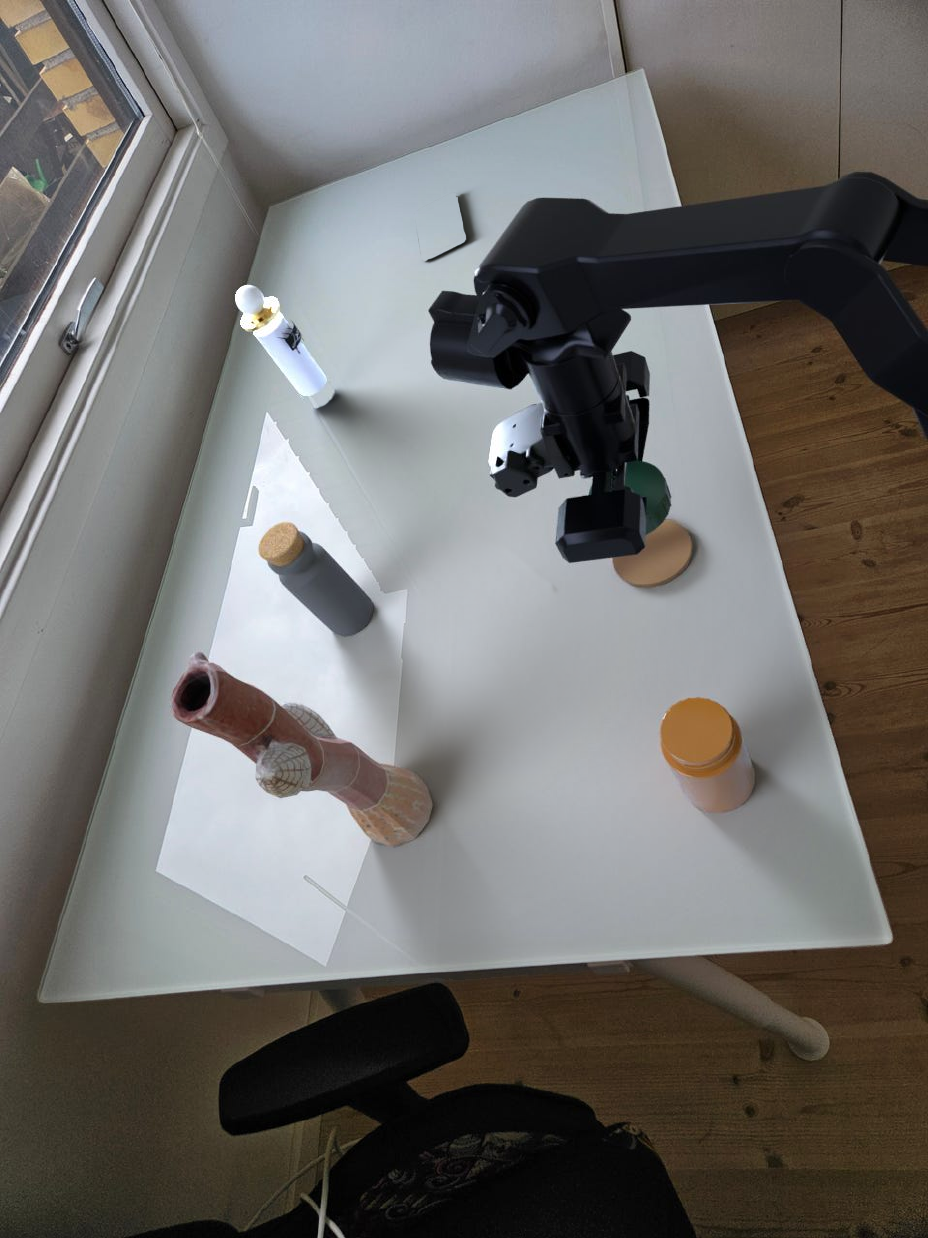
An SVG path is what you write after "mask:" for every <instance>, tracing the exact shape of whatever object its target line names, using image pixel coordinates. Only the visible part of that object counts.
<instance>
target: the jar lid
mask: <svg viewBox="0 0 928 1238" xmlns="http://www.w3.org/2000/svg"><path fill="white" fill-rule="evenodd" d="M612 472H613V471H612ZM611 480H612V477H611ZM611 484H612V481H611ZM625 486H628V487H630V488H632V490H633V492H634V493H636V494H639V495H641V497H647V520H646V535H647V534H649V533H651V532H653V531H654V530H656V528H658V527H659V526H660V525H661V524H662V523H663V522H664V520H665V519H667V517H668V516H669V513H670V510H671V507H672V497H673V496H672V494H671V492H670V489H669V485H668V482H667V479H666V477H665V475H664V474H663V472H662V471H661V470H660V469H659V467H657V466H656V465H654V464H653V463H650V462H648V461H643V460H642V461H631V462H626V483H625ZM611 488H612V486H611ZM591 493H592V484H591V485H590V488H589V490H588V494H587V495H591Z"/></svg>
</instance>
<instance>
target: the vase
mask: <svg viewBox="0 0 928 1238" xmlns="http://www.w3.org/2000/svg"><path fill="white" fill-rule="evenodd" d="M169 707H170V710H171V713H172V716H173V717H174V718H175V719H176V720H177V721H178V722H180V723H182V724H184V725H186V726H187V727H190V728H192V729H195V730H198V731H200V732H203V733H206V734H209V735H211V736H213V737H216V738H219V739H221V740H224V741H226V742H228V743H229V744H231V745H232V746H233V747H235V748H236V749H237V750H239V751H240V752H241V753H242V754H243V755H244V756H245V757H247V758H248V759H250V761H252V762H253V763H254V764H255V780H256V782H257V784H258V785H259V787H260V788H261V789H262V790H263V791H265V792H266V793H267V794H269V795H272V796H275V797H276V798H279V799H284V798H289V797H293V796H298V794H299V793H301V792H308V793H309V792H314V791H320V792H327V793H328V794H329V795H331V796H332V797H334V798H336V799H337V800H339V801H341V802H342V803H344V804H345V805H346V808H347V810H348V812H349V814H350V816H351V817H352V818H353V820H354V821H355V823H356V824H357V825H358V826H359V828H360V829H361V831H362V832H363V833H364V834H365V836H366V837H367V838H369V839H370V840H371V841H372V842H373V843H374V844H376V845H379V846H384V847H385V846H386V847H389V848H396V847H399V846H401V845H403V844H404V845H405V844H406V843H408V842H410V841H413V840H415V839H416V838H417V837H418V836H419V835H420V833H421V832H422V831H423V829H424V828H425V827H426V826H427V824H428V823H429V821H430V818H431V815H432V810H433V806H434V804H433V800H432V797H431V793H430V790H429V787H428V786H427V785H426V783H425V782H424V781H423V779H422V778H421V777H420V776H418V775H417V774H416V773H415V772H413V771H411V770H408V769H405V768H403V767H399V766H395V765H391V764H387V763H380V762H378V761H376V760H375V759H373V758H372V757H371V756H369V755H368V754H367V753H366V752H364V751H363V749H361V748H360V747H358V746H357V745H356V744H355V743H353V742H351V741H348V740H345V739H342V738H339V737H337V736H336V734H335V733H334V731H333V730H332V728H331V727H330V725H329V724H328V723H327V722H326V721H325V720H324V718H323V717H322V716H321V715H320V714H319V713H317V712H316V711H315V710H313V709H312V708H310V707H308V706H306V705H305V704H302V703H298V702H292V701H287V702H282V703H280V704H279V702H277V701H276V700H275V699H274V698H273V697H271V696H270V695H269V694H268V693H266V692H265V691H264V690H262V689H260V688H258V687H257V686H255V685H253V684H250V683H248V682H245V681H243V680H240V679H239V678H236V677H234V676H233V675H232V674H230V673H228V671H226V670H225V669H224V668H223V667H222V666H221V665H219V664H217V663H214V662H210V661H209V659H208V658H207V656H206V655H205V654H204V652H202V651H197V652H194V653H192V654H191V655H190V656H189V661H188V665H187V668H186V670H185V671H184V672H183V674H182V675H181V677H180V678H179V680H178V681H177V683H176V684H175V686H174V688H173V690H172V694H171V697H170V701H169Z"/></svg>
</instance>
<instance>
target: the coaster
mask: <svg viewBox="0 0 928 1238" xmlns="http://www.w3.org/2000/svg"><path fill="white" fill-rule="evenodd" d="M693 550H694V548H693V541H692V538H691V535H690V533H689V532H688V530H687V529H686V528H685V527H684V526H683V525H682V524H679V523H678V522H676V521H674V520H672V519H667V518H666V519H665V520H664V522H663V523H662V524H661V525H660V526H659V527H658V528H656V530H654V531H653V532H651V533H649V534H647V535H646V537H645V548H644V549H643V550H642V551H641V552H640V553H639V554H637V555H630V556H622V557H614V558H611V563H612V567H613V569H614V571H615V573H616V575H617V577H619V579H621V580H622V581H623V582H625V583H627V584H628V585H630V586H634V587H637V588H655V587H660V586H662V585H665V584H668V583H669V582H672V581H673V580H675V579H676V578H678V577H679V576H680V575H681V574H682V573H683V572H684V571H685V570H686V568H687V567H688V566H689V564H690V562H691V559H692V557H693Z"/></svg>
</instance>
